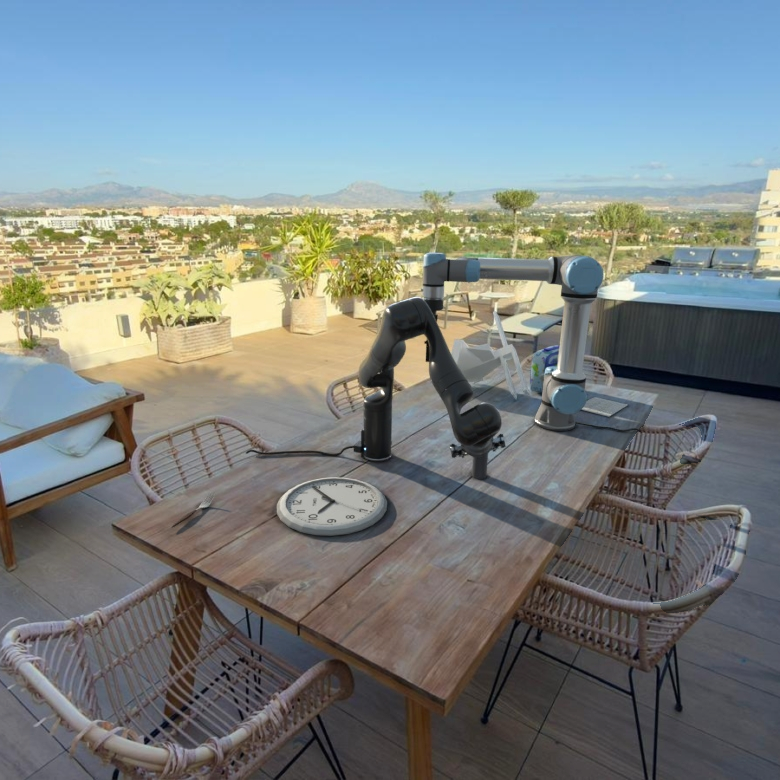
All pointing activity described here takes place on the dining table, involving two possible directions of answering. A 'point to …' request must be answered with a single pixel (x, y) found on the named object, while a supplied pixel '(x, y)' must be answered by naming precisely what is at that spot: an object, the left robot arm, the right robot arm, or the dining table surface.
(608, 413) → the invitation card
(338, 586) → the dining table surface
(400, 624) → the dining table surface
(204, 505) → the fork
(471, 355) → the white plastic object
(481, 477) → the bottle
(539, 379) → the lunch box
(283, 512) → the wall clock
